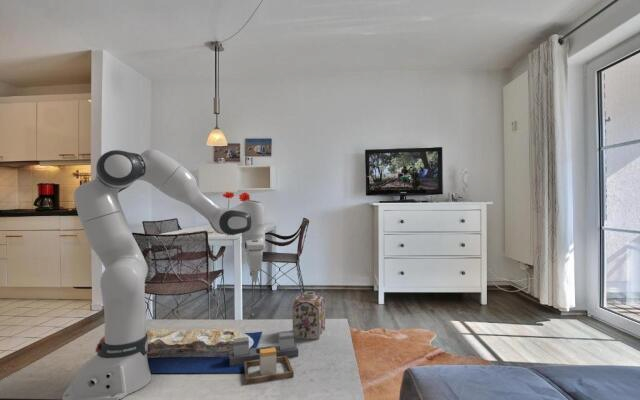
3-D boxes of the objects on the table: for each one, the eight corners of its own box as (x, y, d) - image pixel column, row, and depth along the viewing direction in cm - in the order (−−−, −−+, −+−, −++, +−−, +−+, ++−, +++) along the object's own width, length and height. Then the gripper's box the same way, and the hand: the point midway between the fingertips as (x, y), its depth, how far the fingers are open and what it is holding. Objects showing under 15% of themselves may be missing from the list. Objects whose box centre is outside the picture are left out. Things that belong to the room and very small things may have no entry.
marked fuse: (260, 376, 102) (260, 353, 102) (259, 371, 105) (259, 349, 105) (276, 373, 104) (276, 351, 104) (274, 369, 107) (274, 347, 107)
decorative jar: (325, 331, 140) (325, 290, 141) (319, 342, 129) (319, 297, 129) (299, 328, 143) (299, 288, 143) (291, 339, 132) (291, 295, 132)
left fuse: (233, 363, 110) (233, 342, 110) (233, 359, 112) (233, 339, 113) (248, 361, 111) (248, 340, 111) (248, 357, 114) (248, 337, 114)
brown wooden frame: (246, 387, 97) (246, 379, 97) (243, 369, 108) (243, 361, 108) (293, 380, 101) (293, 372, 101) (286, 362, 112) (286, 355, 112)
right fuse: (280, 357, 114) (280, 336, 114) (278, 353, 117) (278, 333, 117) (294, 355, 116) (293, 335, 116) (292, 351, 119) (292, 332, 119)
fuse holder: (230, 369, 108) (230, 358, 108) (229, 361, 113) (229, 351, 113) (298, 359, 115) (298, 349, 115) (294, 352, 120) (294, 342, 120)
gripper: (243, 240, 132) (243, 273, 132) (246, 246, 112) (246, 285, 112) (258, 239, 134) (258, 272, 134) (265, 245, 114) (265, 284, 114)
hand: (253, 278), depth 123 cm, fingers open, 8 cm apart
